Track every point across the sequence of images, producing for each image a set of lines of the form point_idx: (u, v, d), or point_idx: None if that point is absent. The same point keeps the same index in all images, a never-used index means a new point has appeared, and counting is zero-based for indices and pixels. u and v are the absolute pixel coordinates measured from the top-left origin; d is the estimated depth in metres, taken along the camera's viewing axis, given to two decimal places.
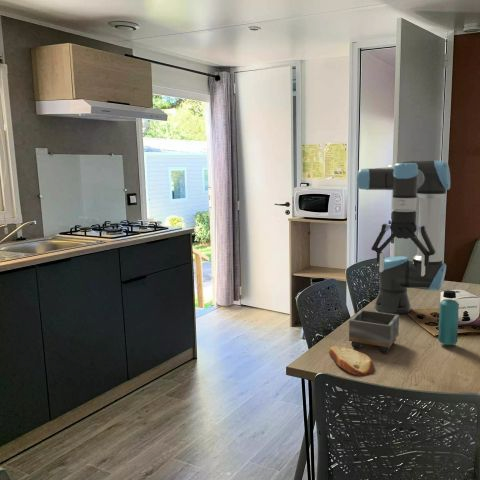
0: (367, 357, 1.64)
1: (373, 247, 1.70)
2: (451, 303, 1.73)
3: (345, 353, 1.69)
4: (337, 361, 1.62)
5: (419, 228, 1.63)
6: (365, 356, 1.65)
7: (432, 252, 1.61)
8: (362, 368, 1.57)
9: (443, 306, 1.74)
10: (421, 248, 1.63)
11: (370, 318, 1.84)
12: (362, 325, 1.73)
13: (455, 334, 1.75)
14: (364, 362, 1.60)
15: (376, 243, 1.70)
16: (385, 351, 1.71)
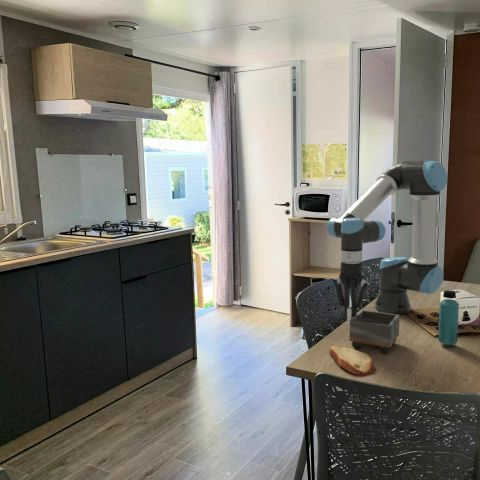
0: (368, 357, 1.64)
1: (340, 302, 1.82)
2: (451, 303, 1.73)
3: (345, 353, 1.69)
4: (338, 361, 1.63)
5: (363, 282, 1.77)
6: (365, 356, 1.65)
7: (358, 305, 1.78)
8: (363, 367, 1.58)
9: (443, 306, 1.74)
10: (353, 300, 1.79)
11: (371, 318, 1.84)
12: (362, 325, 1.73)
13: (455, 334, 1.75)
14: (365, 362, 1.60)
15: (340, 298, 1.82)
16: (386, 351, 1.71)
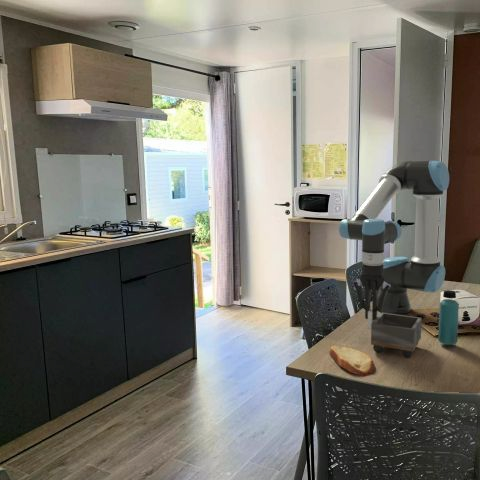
0: (368, 356, 1.64)
1: (361, 305, 1.78)
2: (451, 303, 1.73)
3: (346, 353, 1.69)
4: (338, 361, 1.63)
5: (385, 284, 1.73)
6: (366, 356, 1.65)
7: (379, 308, 1.75)
8: (363, 367, 1.58)
9: (443, 306, 1.74)
10: (374, 303, 1.76)
11: (392, 321, 1.81)
12: (384, 328, 1.69)
13: (455, 334, 1.75)
14: (365, 361, 1.60)
15: (360, 300, 1.78)
16: (408, 355, 1.67)
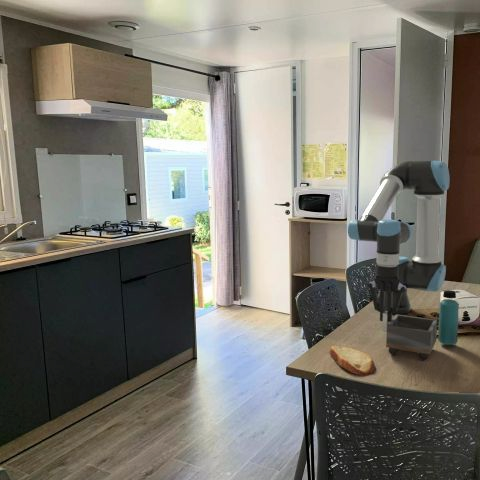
0: (368, 356, 1.64)
1: (375, 307, 1.75)
2: (451, 303, 1.73)
3: (346, 353, 1.69)
4: (338, 361, 1.63)
5: (400, 286, 1.71)
6: (366, 355, 1.66)
7: (394, 310, 1.72)
8: (364, 367, 1.58)
9: (443, 306, 1.74)
10: (389, 305, 1.73)
11: (406, 324, 1.78)
12: (400, 330, 1.67)
13: (455, 334, 1.75)
14: (366, 361, 1.60)
15: (375, 302, 1.75)
16: (425, 358, 1.65)
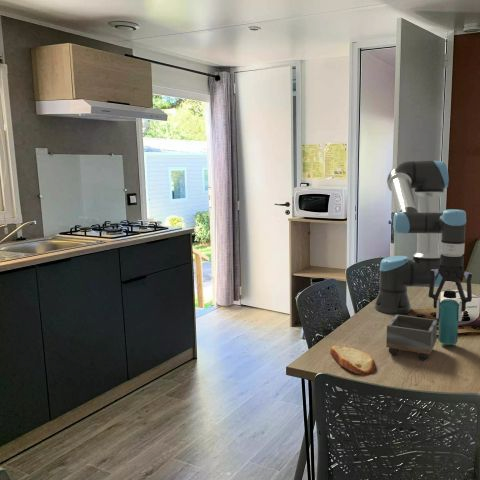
0: (369, 356, 1.65)
1: (430, 294, 1.77)
2: (451, 303, 1.73)
3: (346, 352, 1.69)
4: (339, 360, 1.63)
5: (466, 274, 1.71)
6: (366, 355, 1.66)
7: (469, 299, 1.71)
8: (365, 367, 1.58)
9: (443, 306, 1.74)
10: (461, 294, 1.72)
11: (407, 324, 1.78)
12: (400, 330, 1.67)
13: (455, 334, 1.75)
14: (366, 361, 1.60)
15: (431, 289, 1.77)
16: (425, 358, 1.65)
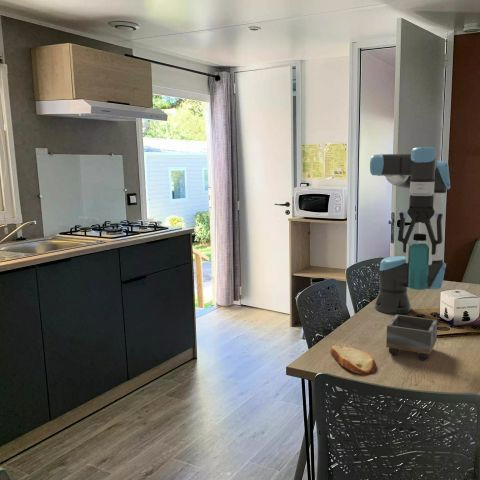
0: (369, 356, 1.65)
1: (399, 238, 1.69)
2: (421, 246, 1.65)
3: (347, 352, 1.69)
4: (339, 360, 1.63)
5: (436, 214, 1.63)
6: (367, 355, 1.66)
7: (440, 241, 1.63)
8: (365, 367, 1.58)
9: (413, 249, 1.66)
10: (431, 236, 1.64)
11: (407, 324, 1.78)
12: (400, 330, 1.67)
13: (425, 279, 1.67)
14: (367, 361, 1.61)
15: (400, 233, 1.69)
16: (425, 358, 1.65)
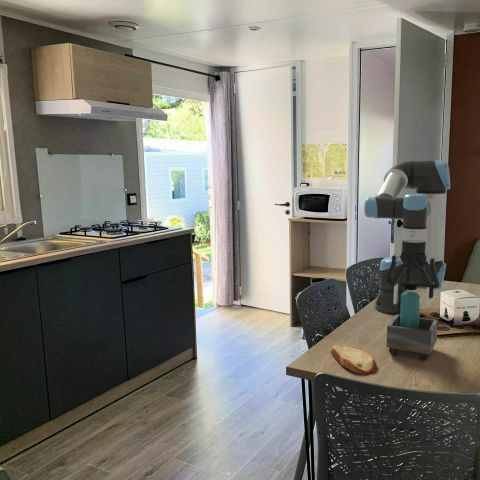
0: (369, 356, 1.65)
1: (387, 279, 1.72)
2: (411, 295, 1.68)
3: (347, 352, 1.70)
4: (340, 360, 1.63)
5: (429, 260, 1.65)
6: (367, 355, 1.66)
7: (437, 285, 1.64)
8: (366, 366, 1.58)
9: (404, 298, 1.69)
10: (427, 280, 1.65)
11: None
12: (400, 330, 1.67)
13: (416, 327, 1.69)
14: (367, 361, 1.61)
15: (389, 275, 1.71)
16: (425, 358, 1.65)
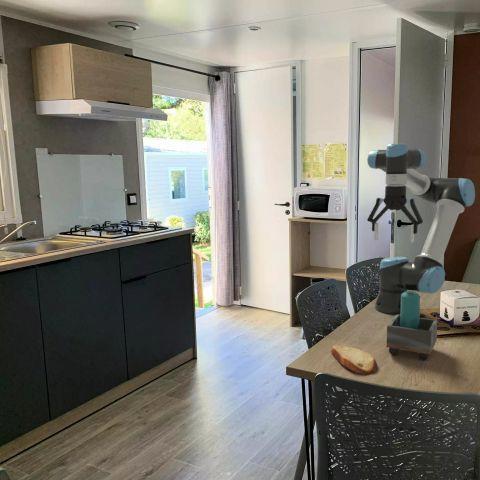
0: (370, 355, 1.65)
1: (369, 218, 1.94)
2: (412, 295, 1.68)
3: (348, 352, 1.70)
4: (340, 360, 1.63)
5: (409, 200, 1.87)
6: (368, 355, 1.66)
7: (420, 221, 1.85)
8: (366, 366, 1.58)
9: (404, 298, 1.69)
10: (410, 218, 1.86)
11: None
12: (400, 330, 1.67)
13: (416, 327, 1.69)
14: (368, 360, 1.61)
15: (371, 215, 1.93)
16: (425, 358, 1.65)
